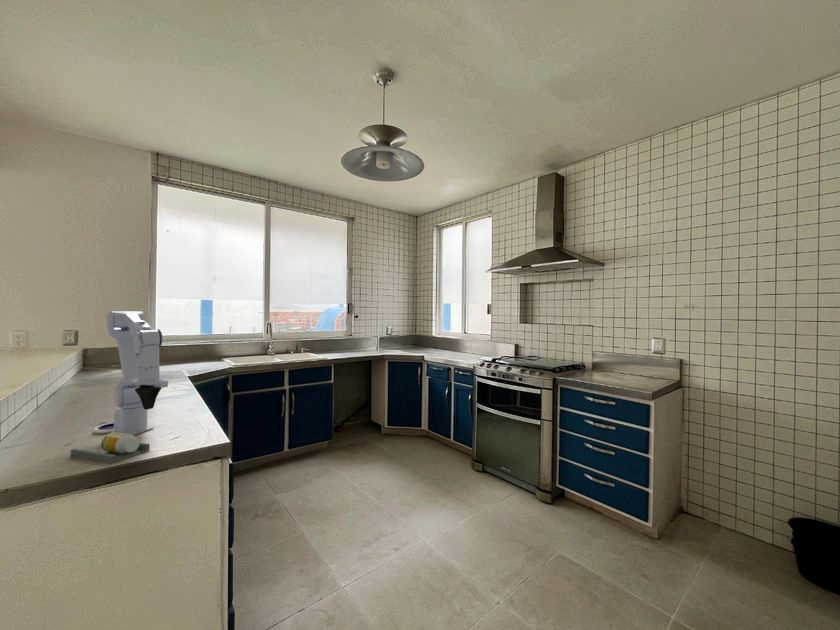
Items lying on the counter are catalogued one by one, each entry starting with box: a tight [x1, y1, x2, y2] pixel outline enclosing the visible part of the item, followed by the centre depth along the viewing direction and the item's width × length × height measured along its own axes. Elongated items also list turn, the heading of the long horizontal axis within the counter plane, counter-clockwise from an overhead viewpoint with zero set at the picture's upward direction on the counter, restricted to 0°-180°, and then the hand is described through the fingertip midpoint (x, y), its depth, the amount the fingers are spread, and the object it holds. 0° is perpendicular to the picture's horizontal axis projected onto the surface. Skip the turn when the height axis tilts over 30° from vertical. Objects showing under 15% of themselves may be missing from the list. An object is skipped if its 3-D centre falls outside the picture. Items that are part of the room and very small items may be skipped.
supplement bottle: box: [100, 432, 141, 454], centre depth 103 cm, size 5×5×10 cm
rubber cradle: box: [70, 442, 151, 465], centre depth 103 cm, size 17×10×2 cm, turn 73°
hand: (148, 408), depth 113 cm, fingers closed
